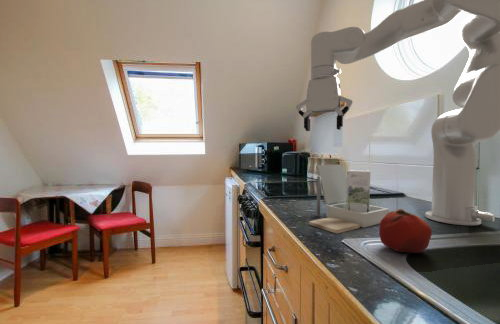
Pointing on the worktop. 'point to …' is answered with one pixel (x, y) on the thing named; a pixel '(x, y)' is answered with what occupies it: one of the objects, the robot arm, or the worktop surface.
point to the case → (352, 212)
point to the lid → (333, 183)
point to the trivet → (334, 225)
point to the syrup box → (358, 190)
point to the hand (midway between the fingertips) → (322, 130)
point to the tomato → (404, 232)
